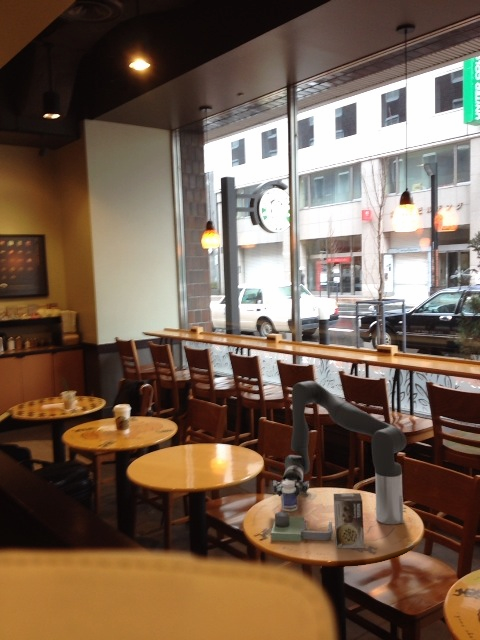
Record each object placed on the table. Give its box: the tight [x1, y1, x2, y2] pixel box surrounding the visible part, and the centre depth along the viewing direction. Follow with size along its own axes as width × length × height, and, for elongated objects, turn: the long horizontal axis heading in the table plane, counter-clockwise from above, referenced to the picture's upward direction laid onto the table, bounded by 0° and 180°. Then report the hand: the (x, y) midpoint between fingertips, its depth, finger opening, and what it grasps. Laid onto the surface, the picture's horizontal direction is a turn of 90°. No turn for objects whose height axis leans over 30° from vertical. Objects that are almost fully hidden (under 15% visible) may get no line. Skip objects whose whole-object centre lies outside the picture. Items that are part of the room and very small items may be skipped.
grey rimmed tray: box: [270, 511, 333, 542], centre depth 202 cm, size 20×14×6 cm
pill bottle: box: [280, 480, 298, 512], centre depth 214 cm, size 6×6×10 cm
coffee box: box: [333, 492, 365, 549], centre depth 191 cm, size 9×6×16 cm
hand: (288, 493), depth 211 cm, fingers closed on pill bottle, 5 cm apart
